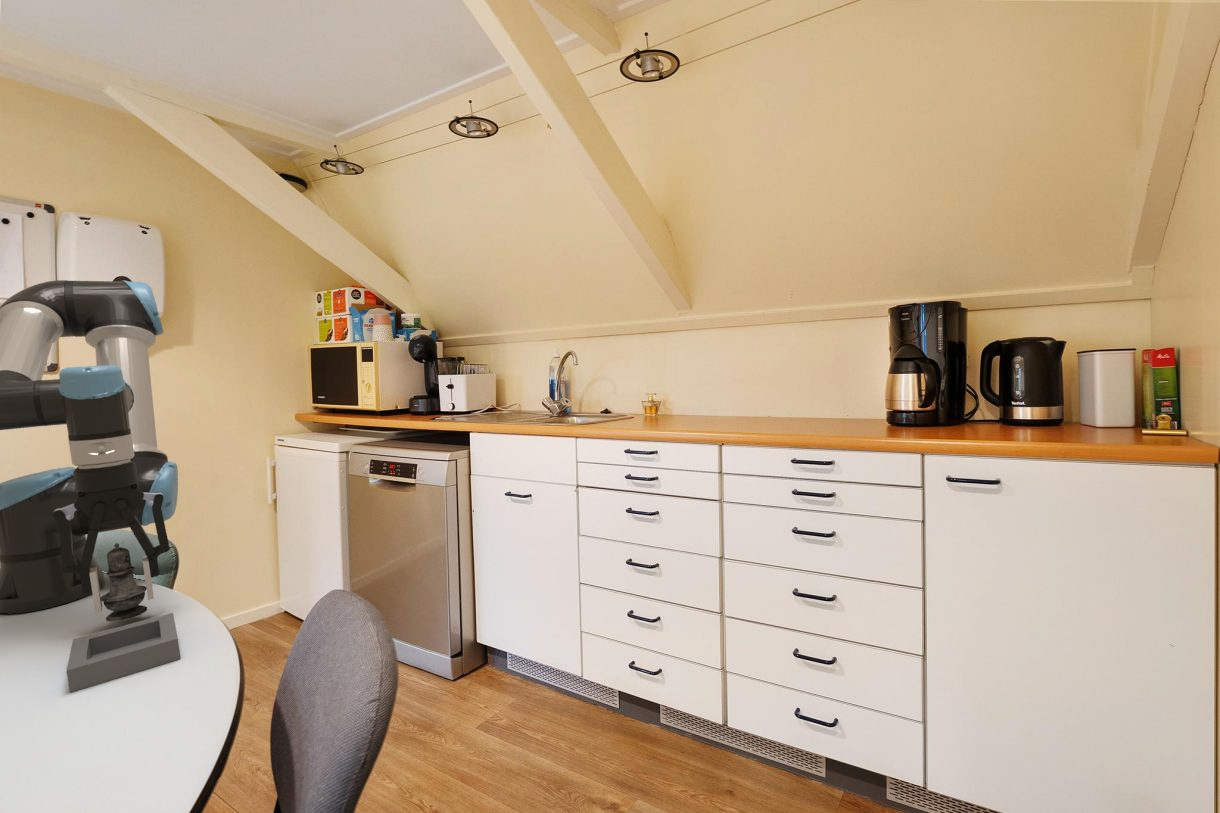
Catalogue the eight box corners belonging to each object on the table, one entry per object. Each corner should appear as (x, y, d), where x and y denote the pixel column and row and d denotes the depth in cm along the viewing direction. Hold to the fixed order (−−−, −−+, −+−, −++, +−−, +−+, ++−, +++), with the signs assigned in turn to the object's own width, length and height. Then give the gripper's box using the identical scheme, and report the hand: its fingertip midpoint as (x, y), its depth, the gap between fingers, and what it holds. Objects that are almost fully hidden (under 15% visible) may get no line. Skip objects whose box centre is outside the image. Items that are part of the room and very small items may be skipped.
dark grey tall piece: (123, 623, 92) (112, 550, 91) (93, 621, 93) (82, 549, 92) (158, 606, 98) (149, 537, 96) (130, 604, 99) (120, 536, 98)
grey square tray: (76, 658, 85) (73, 639, 84) (175, 631, 92) (173, 612, 92) (69, 692, 76) (66, 670, 75) (180, 658, 83) (177, 638, 83)
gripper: (17, 478, 84) (43, 631, 87) (179, 456, 96) (197, 592, 98) (24, 470, 90) (48, 614, 92) (176, 451, 101) (193, 579, 104)
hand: (125, 602), depth 95 cm, fingers closed on dark grey tall piece, 6 cm apart
